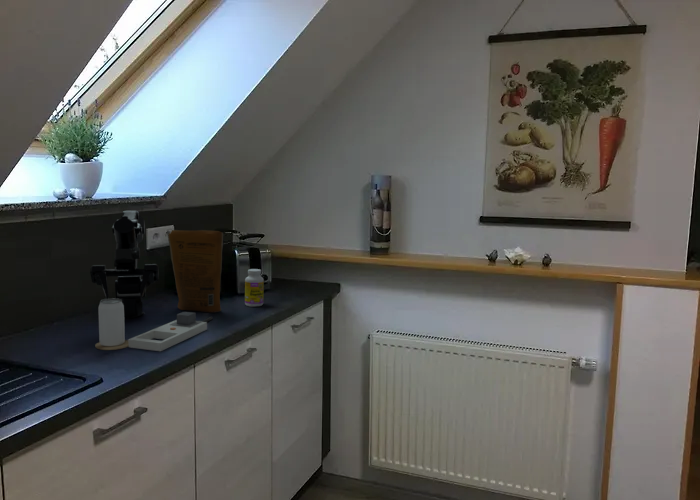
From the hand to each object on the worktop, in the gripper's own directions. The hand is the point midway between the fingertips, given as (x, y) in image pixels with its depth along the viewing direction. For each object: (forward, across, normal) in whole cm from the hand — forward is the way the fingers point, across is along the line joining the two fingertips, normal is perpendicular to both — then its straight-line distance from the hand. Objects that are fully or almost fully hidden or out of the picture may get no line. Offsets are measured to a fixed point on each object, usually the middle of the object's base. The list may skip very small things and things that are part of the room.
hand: (124, 297), depth 174 cm
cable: (+2, +23, +14) cm, 27 cm away
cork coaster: (+15, -2, +1) cm, 15 cm away
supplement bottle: (-14, +42, +31) cm, 54 cm away
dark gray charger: (+5, +17, +7) cm, 19 cm away
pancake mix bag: (-11, +22, +28) cm, 37 cm away
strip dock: (+12, +12, +4) cm, 18 cm away
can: (+15, -3, 0) cm, 15 cm away
